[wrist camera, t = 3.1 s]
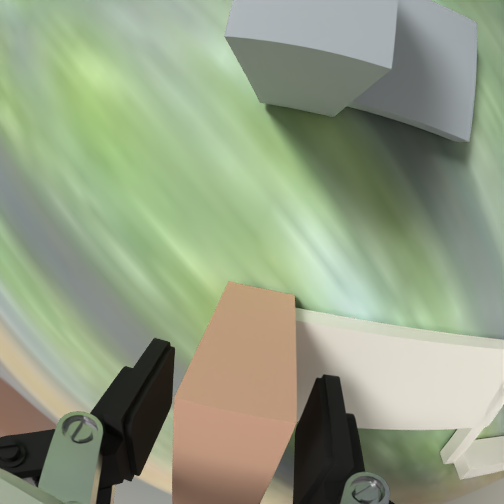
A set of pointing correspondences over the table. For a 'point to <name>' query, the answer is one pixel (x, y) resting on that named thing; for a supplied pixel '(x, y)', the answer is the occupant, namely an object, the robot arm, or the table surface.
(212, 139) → the table surface
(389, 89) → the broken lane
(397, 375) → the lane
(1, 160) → the table surface
